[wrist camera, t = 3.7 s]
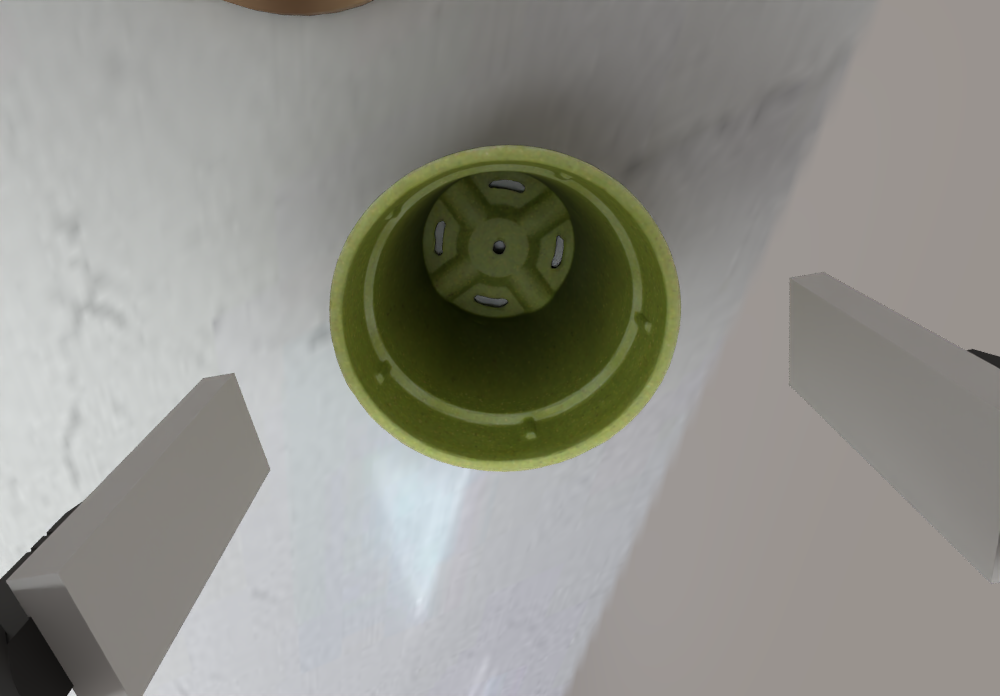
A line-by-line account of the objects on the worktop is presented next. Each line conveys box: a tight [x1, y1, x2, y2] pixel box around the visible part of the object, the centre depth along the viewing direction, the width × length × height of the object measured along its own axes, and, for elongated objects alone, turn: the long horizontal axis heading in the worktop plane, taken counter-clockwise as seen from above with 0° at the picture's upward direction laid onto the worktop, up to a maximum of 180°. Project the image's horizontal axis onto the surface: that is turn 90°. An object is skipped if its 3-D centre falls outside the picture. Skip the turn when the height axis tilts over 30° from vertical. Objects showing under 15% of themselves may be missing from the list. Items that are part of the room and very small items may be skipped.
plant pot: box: [329, 145, 681, 472], centre depth 21 cm, size 9×9×9 cm
